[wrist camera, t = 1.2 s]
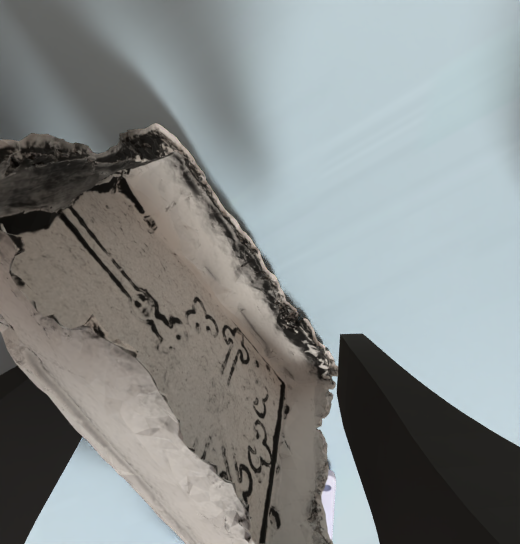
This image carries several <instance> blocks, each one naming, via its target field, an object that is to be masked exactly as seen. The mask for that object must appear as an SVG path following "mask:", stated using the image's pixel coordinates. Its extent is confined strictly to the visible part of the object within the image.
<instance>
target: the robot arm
mask: <svg viewBox="0 0 520 544" xmlns="http://www.w3.org/2000/svg"><path fill="white" fill-rule="evenodd" d="M337 397H338V402H339V408H340V413H341V417H342V422H343V427H344V430H345V433H346V437H347V440H348V443H349V446H350V449H351V452H352V455H353V458H354V461H355V464H356V467H357V470H358V473H359V476H360V479H361V482H362V485H363V488H364V491H365V494H366V497H367V500H368V503H369V506H370V509H371V512H372V516H373V519H374V523H375V526H376V530H377V534H378V538H379V542H380V544H520V447H519V446H517V445H515V444H513V443H512V442H510V441H508V440H506V439H505V438H503V437H501V436H499V435H498V434H496V433H494V432H493V431H491V430H489V429H488V428H486V427H485V426H483V425H481V424H480V423H478V422H477V421H475V420H474V419H472V418H470V417H469V416H467V415H466V414H464V413H462V412H461V411H460V410H458V409H457V408H455V407H454V406H452V405H451V404H449V403H448V402H446V401H445V400H444V399H442V398H441V397H440V396H438V395H437V394H435V393H434V392H433V391H431V390H430V389H429V388H427V387H426V386H425V385H423V384H422V383H421V382H419V381H418V380H417V379H416V378H414V377H413V376H412V375H411V374H409V373H408V372H407V371H406V370H404V369H403V368H402V367H401V366H400V365H398V364H397V363H396V362H395V361H394V360H392V359H391V358H390V357H389V356H388V355H387V354H386V353H384V352H383V351H382V350H381V349H380V348H379V347H377V346H376V345H375V344H374V343H373V342H372V341H371V340H369V339H368V338H367V337H366V336H365V335H363V334H340V347H339V364H338V381H337ZM81 438H82V435H81V434H79V433H78V432H77V431H76V430H75V429H74V428H73V426H72V425H71V424H70V423H69V421H68V420H67V419H66V418H65V416H64V415H63V414H62V413H61V411H60V410H59V409H58V408H57V406H56V405H55V404H54V402H53V401H52V400H51V399H50V397H49V396H48V395H47V394H46V393H44V392H43V391H42V390H40V389H39V388H38V387H37V386H36V385H35V384H34V383H33V382H32V381H31V380H30V379H29V378H28V376H27V375H26V374H25V373H24V372H23V371H22V370H21V369H20V368H19V366H18V365H17V366H15V367H14V368H12V369H10V370H8V371H7V372H5V373H3V374H1V375H0V544H24V543H25V541H26V539H27V537H28V535H29V533H30V531H31V529H32V527H33V525H34V523H35V521H36V519H37V517H38V516H39V514H40V512H41V510H42V509H43V507H44V505H45V503H46V501H47V500H48V498H49V496H50V494H51V492H52V491H53V489H54V487H55V485H56V484H57V482H58V480H59V478H60V476H61V475H62V473H63V471H64V469H65V467H66V466H67V464H68V462H69V460H70V458H71V457H72V455H73V453H74V451H75V449H76V448H77V446H78V444H79V442H80V440H81ZM335 488H336V478H335V474H334V472H333V471H331V470H329V469H328V479H327V481H326V485H325V488H324V490H323V492H322V496H321V498H322V504H323V507H324V510H325V513H326V522H327V528H328V534H329V537H330V539H331V541H332V535H333V519H334V504H335Z"/></svg>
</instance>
